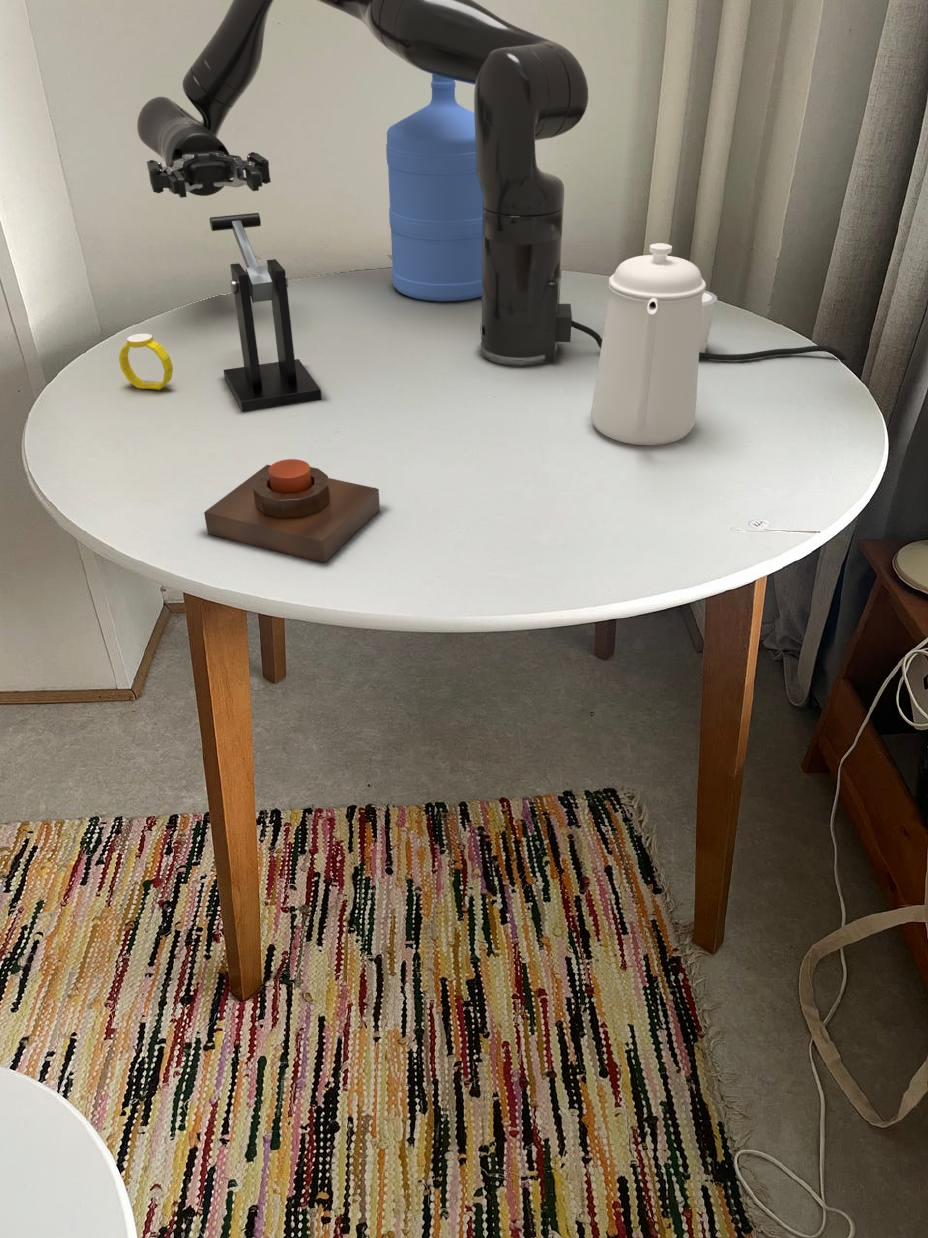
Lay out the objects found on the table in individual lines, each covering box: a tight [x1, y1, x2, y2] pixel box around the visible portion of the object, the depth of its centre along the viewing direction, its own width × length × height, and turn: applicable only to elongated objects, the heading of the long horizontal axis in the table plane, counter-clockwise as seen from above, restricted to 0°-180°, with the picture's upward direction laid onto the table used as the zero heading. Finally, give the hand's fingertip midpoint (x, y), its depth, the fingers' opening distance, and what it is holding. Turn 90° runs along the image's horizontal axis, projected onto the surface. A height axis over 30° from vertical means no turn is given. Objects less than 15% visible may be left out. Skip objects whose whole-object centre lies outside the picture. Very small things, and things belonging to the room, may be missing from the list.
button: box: [269, 458, 312, 494], centre depth 88 cm, size 4×4×2 cm
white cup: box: [699, 290, 718, 353], centre depth 122 cm, size 7×7×7 cm
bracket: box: [223, 258, 322, 412], centre depth 111 cm, size 10×9×14 cm
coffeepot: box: [590, 242, 707, 446], centre depth 100 cm, size 11×25×19 cm, turn 168°
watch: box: [118, 333, 174, 391], centre depth 113 cm, size 6×3×6 cm, turn 74°
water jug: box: [385, 74, 483, 302], centre depth 137 cm, size 16×16×28 cm
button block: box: [203, 464, 381, 564], centre depth 89 cm, size 12×10×4 cm
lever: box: [209, 212, 273, 303], centre depth 110 cm, size 13×6×2 cm, turn 22°
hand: (219, 184), depth 117 cm, fingers open, 8 cm apart
